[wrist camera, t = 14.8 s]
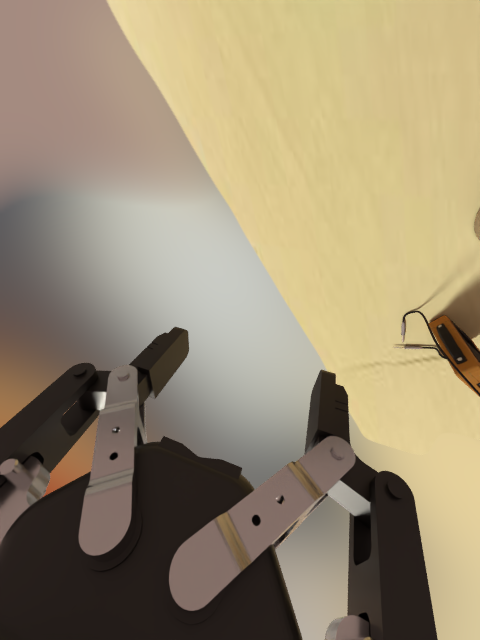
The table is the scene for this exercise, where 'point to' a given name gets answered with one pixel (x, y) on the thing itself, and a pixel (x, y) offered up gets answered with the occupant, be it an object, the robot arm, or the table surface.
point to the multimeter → (454, 349)
